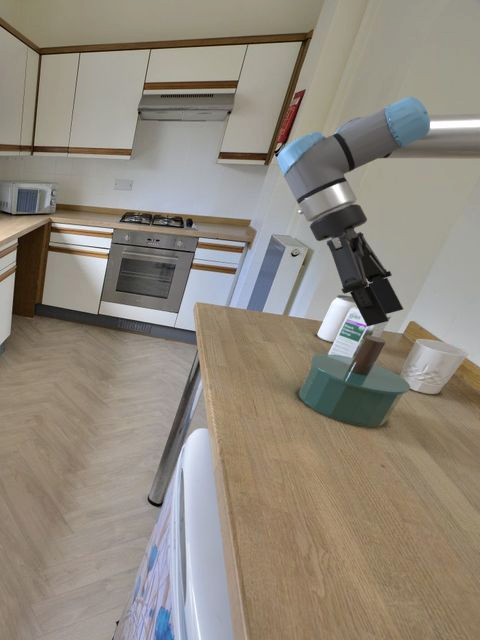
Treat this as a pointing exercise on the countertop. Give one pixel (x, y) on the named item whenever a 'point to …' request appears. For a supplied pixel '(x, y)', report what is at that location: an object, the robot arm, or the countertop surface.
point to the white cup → (431, 365)
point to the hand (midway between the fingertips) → (386, 317)
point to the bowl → (346, 401)
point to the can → (335, 317)
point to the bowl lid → (362, 369)
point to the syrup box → (354, 333)
